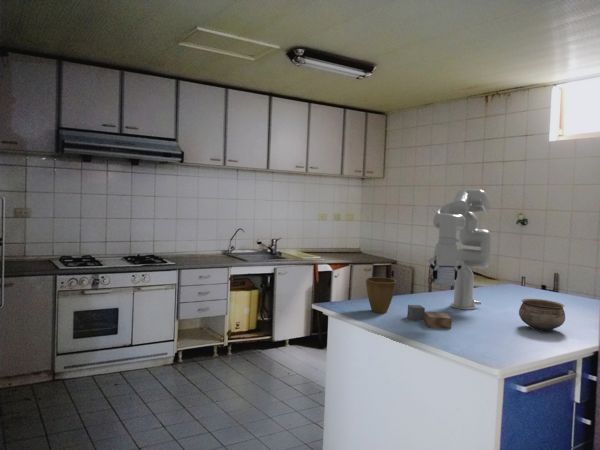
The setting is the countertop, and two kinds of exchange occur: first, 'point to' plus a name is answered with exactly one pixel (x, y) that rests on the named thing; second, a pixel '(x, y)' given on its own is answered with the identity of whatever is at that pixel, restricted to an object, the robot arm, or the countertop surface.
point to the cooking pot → (542, 314)
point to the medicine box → (445, 276)
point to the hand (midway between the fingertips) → (444, 279)
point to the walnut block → (437, 320)
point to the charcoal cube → (416, 312)
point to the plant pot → (380, 293)
